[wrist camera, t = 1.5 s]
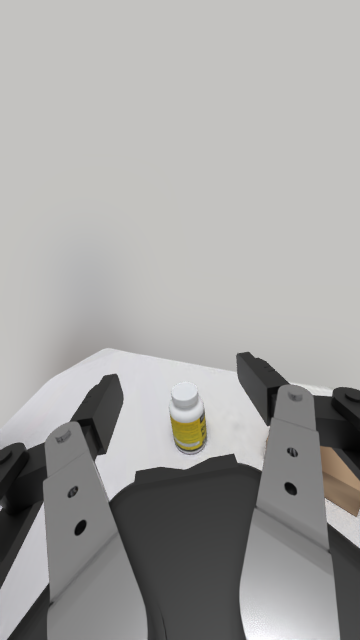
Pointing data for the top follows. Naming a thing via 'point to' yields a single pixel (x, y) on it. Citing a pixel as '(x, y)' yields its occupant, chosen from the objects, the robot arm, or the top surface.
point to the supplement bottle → (187, 418)
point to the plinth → (339, 481)
